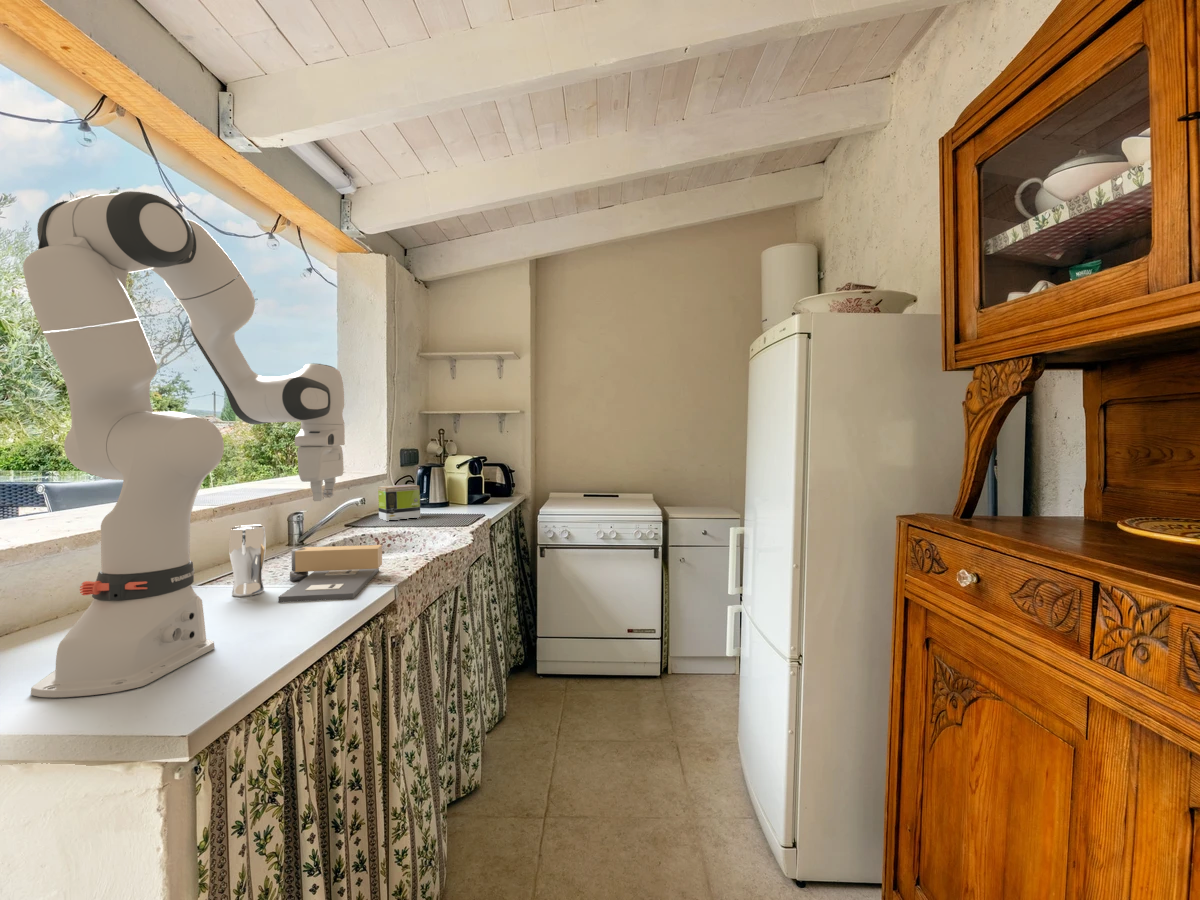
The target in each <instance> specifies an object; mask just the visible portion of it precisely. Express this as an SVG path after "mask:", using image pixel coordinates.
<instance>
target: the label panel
mask: <svg viewBox="0 0 1200 900" xmlns="http://www.w3.org/2000/svg"><path fill="white" fill-rule="evenodd" d="M379 569H380V567H379V568H378V569H355V570H330V571H312V572H311V573H310V574H308V576H307V577H306V578H304V579H303V580H301V581H298V582H296V583H295V584H294V585H293V586H292V587H290V588H289V589H287V590H286V591H285V592H283V593H282V594H281V595H279V596H278V599H277V601H278V603H293V602H294V603H295V602H296V603H297V602H313V601H315V602H316V601H334V600H335V601H337V600H351V599H352V600H354V599H355V598H356V596H357V595H358V594H359V593H360V592H361V591H362V590H363V589H364V588H365V587H366V586H367V584H368V583H369V582H370V581H372V579H373V578H374V577H375V576H376V575H377V574H378V573H379V571H380V570H379ZM376 573H377V574H376ZM375 574H376V575H375ZM374 575H375V576H374ZM373 576H374V577H373ZM372 577H373V578H372ZM365 585H366V586H365Z"/></svg>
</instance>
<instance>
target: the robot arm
mask: <svg viewBox="0 0 1200 900" xmlns="http://www.w3.org/2000/svg"><path fill="white" fill-rule="evenodd" d="M37 237H38V247H37V250H35V251H33V252H32V253H30V254H28V256H27V257H26V258H25V259H24V261H23V265H22V271H23V276H24V280H25V285H26V289H27V293H28V297H29V300H30V304H31V306H32V309H33V312H34V315H35V317H36V320H37V322H38V325H39V326H40V330H41V331H42V334H43V335H44V338H45V340H46V342H47V344H48V347H49V348H50V350H51V353H52V355H53V357H54V359H55V362H56V364H57V366H58V368H59V372H60V374H61V375H62V378H63V380H64V383H65V386H66V390H67V393H68V400H69V407H70V417H71V419H70V420H71V427H70V429H69V431H68V432H67V435H65V440H64V446H63V447H64V452H65V455H66V457H67V459H68V460H69V463H71V464H72V465H73V466H74V467H75V468H77V469H78V470H80V471H82V472H83V473H87V474H90V475H92V476H96V477H99V478H102V479H106V480H112V481H114V480H116V481H117V480H118V481H120V480H121V481H123V482H122V486H121V490H120V494H119V495H118V499H117V501H116V503H115V505H114V506H113V508H112V510H111V511H110V512H109V513H107V514H106V515H105V516H104V517H103V519H102V521H101V523H100V558H101V559H100V560H101V561H100V563H101V567H100V569H101V570H100V571H99V572H98V573H97V577H96V580H95V581H89V580H86V581H83V582H82V583H81V585H80V586H79V593H80V594H81V595H82V596H89V595H91V598H93V600H92V601H91V603H90V605H89V606H88V608H87V609H86V610H84V612H83V614H82V615H81V616H80V617H79V618H78V620H77V621H76V622H75V623H74V625H72V627H71V628H70V630H69V631H68V632H67V633H66V635H65V636H64V637H63V638H62V639H61V641H60V642H59V643H58V645H57V646H58V647H57V650H56V655H55V656H56V657H55V670H53V671H52V672H51V673H49V674H48V675H47V676H45V677H44V678H43V679H41V680H40V681H38V682H37V683H35V684H34V685H33V686H31V688H30V695H31V696H34V697H38V698H70V697H86V696H94V695H95V696H96V695H102V694H103V695H104V694H105V695H106V694H111V693H116V692H123V691H127V690H133V689H136V688H140V687H144V686H146V685H149V684H151V683H152V682H154V681H156V680H157V679H160V678H162V677H163V676H165V675H168V674H169V673H171V672H173V671H175V670H176V669H179V668H181V667H182V666H185V665H186V664H188V663H190V662H192V661H193V660H195V659H197V658H199V657H201V656H203V655H205V654H206V653H208V652H211V651H212V650H214V649H215V642H214V641H213V640H211V639H207V633H206V624H205V615H204V614H205V612H204V607H203V606H204V605H203V600H202V598H201V597H200V596H199V595H198V594H197V593H196V592H195V590H194V589H193V587H192V584H193V583H194V582H195V577H194V576H195V575H194V574H195V568H194V563H193V562H194V561H191V555H190V554H191V517H192V511H193V507H194V505H195V504H194V503H195V500H196V497H197V495H198V492H199V491H200V488H201V486H202V484H203V482H204V481H205V479H206V478H207V476H208V475H210V473H212V472H213V470H215V469H216V468H217V467H218V466H219V464H220V462H221V461H222V458H223V455H224V450H225V444H224V443H225V442H224V439H223V436H222V433H221V431H220V430H219V428H218V427H217V426H216V425H215V424H214V423H213V422H211V421H210V420H207V419H206V418H203V417H200V416H197V415H193V414H188V413H185V412H181V411H154V410H153V407H152V405H151V396H150V394H151V393H150V391H151V390H150V387H151V386H150V385H151V382H152V380H153V379H154V377H155V376H156V374H157V372H158V364H157V363H158V362H157V360H156V358H155V355H154V352H153V350H152V347H151V346H150V342H149V340H148V338H147V336H146V333H145V330H144V327H143V326H142V323H141V320H140V318H139V315H138V314H137V311H136V308H135V306H134V304H133V302H132V300H131V298H130V296H129V294H128V289H127V279H128V274H129V273H135V272H141V271H147V270H151V271H152V272H154V273H155V274H157V275H158V276H159V277H160V278H161V279H162V280H163V281H164V283H165V285H166V286H167V287H168V289H169V290H170V291H171V293H172V294H173V296H174V298H176V299H177V301H178V302H179V303H180V305H181V307H182V308H183V309H184V311H185V313H186V315H187V317H188V319H189V330H190V333H191V335H192V337H193V339H194V341H195V343H196V344H197V347H198V348H199V349H200V351H201V354H202V355H203V356H204V358H205V360H206V361H207V362H208V364H209V366H210V367H211V369H212V371H213V372H214V374H215V376H216V377H217V379H218V380H219V382H220V383H221V385H222V387H223V388H224V392H225V393H226V396H227V399H228V402H229V405H230V407H231V409H232V412H233V413H234V414H235V415H236V417H237V418H238V419H240V420H241V421H243V422H244V423H246V424H250V425H263V424H270V423H292V422H293V423H294V422H298V423H299V422H300V430H299V432H298V433H297V434H296V435H295V437H294V446H295V447H298V448H297V451H296V452H297V455H296V456H297V467H298V469H297V470H298V476H299V479H300V481H301V482H306V483H307V482H309V483H310V485H309V486H310V489H311V491H312V500H313V502H321V501H322V502H323V500H324V499H327V498H332V497H334V495H335V494H334V490H335V486H336V485H335V484H336V478H337V477H341V476H343V475H344V452H343V447H342V446H345V442H346V441H345V439H346V437H345V421H344V418H343V412H344V408H345V391H344V390H345V389H344V388H345V387H344V381H343V377H342V374H341V372H340V371H339V370H338V369H337V368H336V367H334V366H331V365H327V364H322V363H314V362H313V363H307V364H305V365H303V368H301V369H299V370H297V371H295V372H293V373H290V374H287V375H280V376H262V375H260V374H258V373H256V372H255V371H253V370H252V369H251V367H250V364H249V363H248V362H247V360H246V358H245V356H244V354H243V353H242V351H241V349H240V347H239V345H238V343H237V342H236V339H235V337H236V333H237V332H238V331H239V330H241V329H242V328H244V326H245V325H246V324H247V323H248V322H249V321H250V320H251V318H252V317H253V315H254V312H255V308H256V299H255V296H254V294H253V291H252V289H251V288H250V286H249V283H248V282H247V281H246V279H245V277H244V276H243V275H242V274H241V272H240V270H239V269H238V267H237V265H235V263H234V262H233V261H232V259H231V258H230V257H229V255H228V254H227V253H226V252H225V250H224V249H223V248H222V247H221V245H220V243H218V242H217V240H216V239H215V238H213V236H212V235H211V234H210V233H209V232H208V231H207V230H206V229H205V228H204V227H203V226H202V225H200V224H199V223H197V222H196V221H194V220H192V219H187V218H186V217H185V216H184V214H183V213H182V211H180V210H179V209H178V208H177V207H176V206H175V205H174V204H172V203H171V202H170V201H168V200H166V199H165V198H163V197H162V196H160V195H157V194H154V193H149V192H145V191H143V192H142V191H135V190H134V191H132V190H131V191H130V190H128V191H123V192H120V193H106V194H104V193H94V194H89V195H86V196H81V197H77V198H74V199H71V200H64V201H60V202H57V203H55V204H54V205H51V206H50V207H48V208H47V209H46V210H44V211H43V212H42V214H41V215H40V217H39V219H38V222H37ZM323 484H324V489H323Z"/></svg>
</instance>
